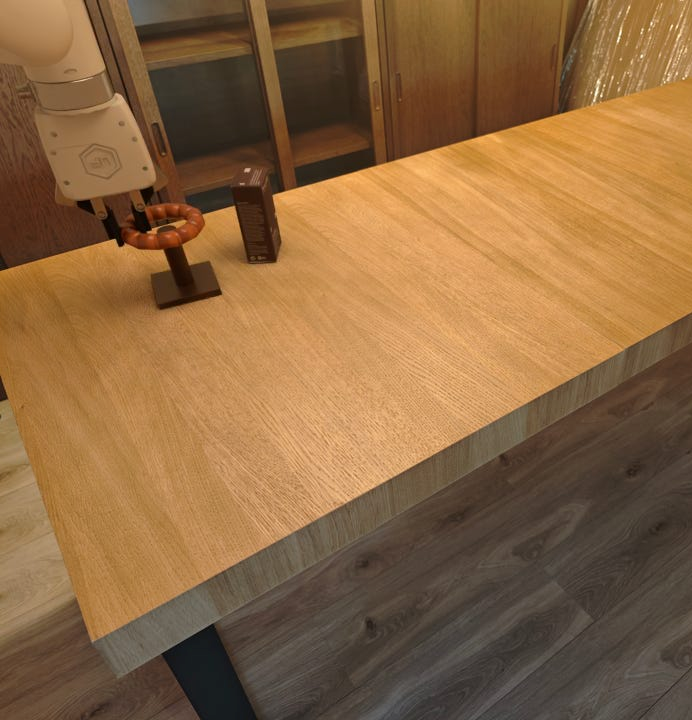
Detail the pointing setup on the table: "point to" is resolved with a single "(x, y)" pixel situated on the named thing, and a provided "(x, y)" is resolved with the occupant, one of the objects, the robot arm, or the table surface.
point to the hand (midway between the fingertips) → (132, 238)
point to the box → (256, 214)
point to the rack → (183, 278)
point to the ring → (165, 238)
